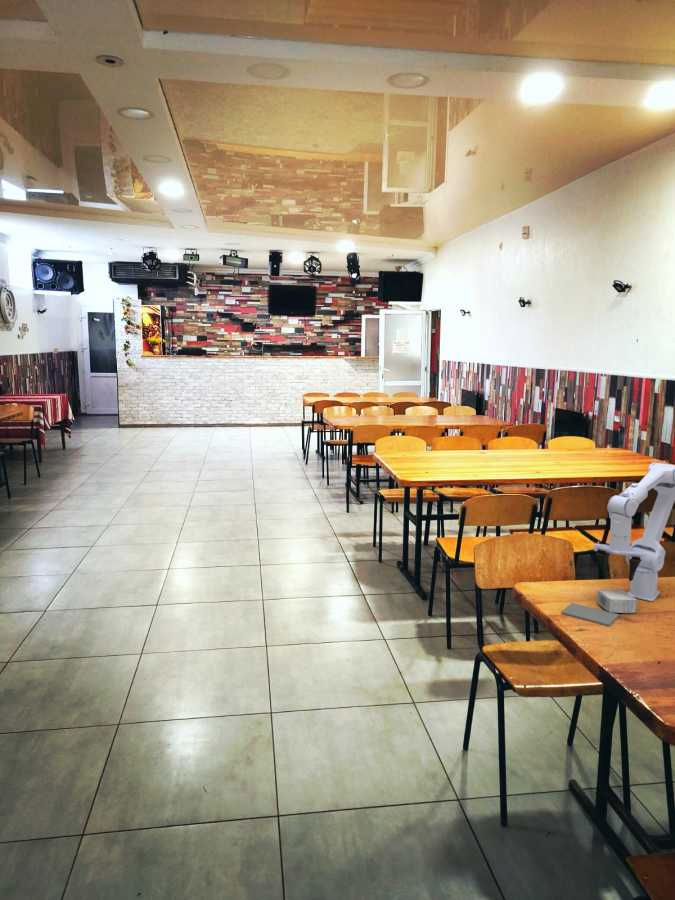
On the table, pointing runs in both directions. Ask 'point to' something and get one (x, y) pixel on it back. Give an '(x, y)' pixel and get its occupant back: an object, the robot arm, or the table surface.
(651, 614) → the table surface
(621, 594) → the medicine box
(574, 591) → the table surface
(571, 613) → the mat
